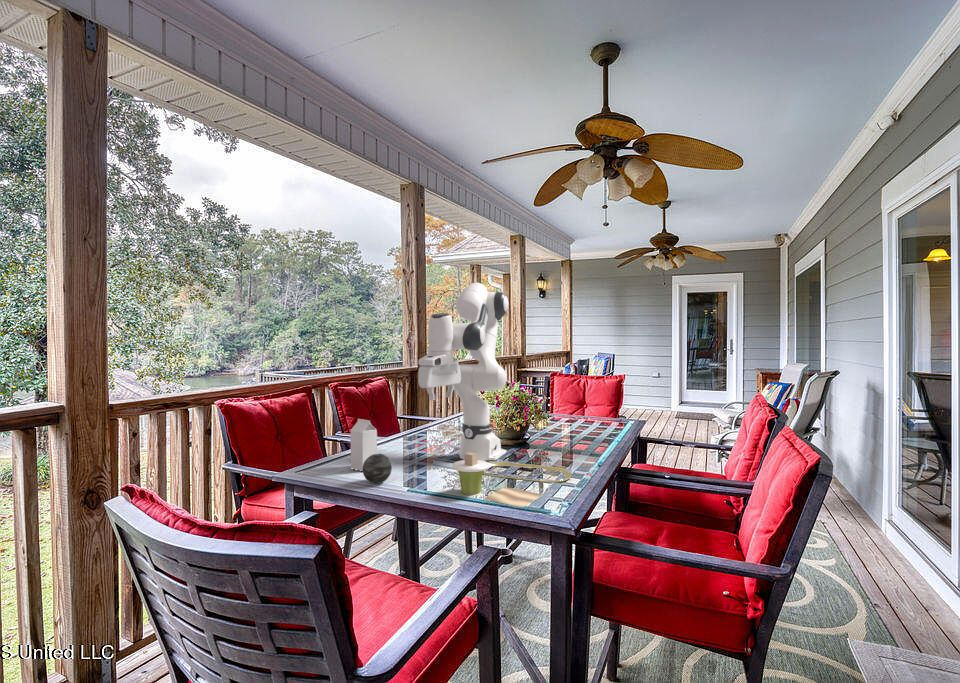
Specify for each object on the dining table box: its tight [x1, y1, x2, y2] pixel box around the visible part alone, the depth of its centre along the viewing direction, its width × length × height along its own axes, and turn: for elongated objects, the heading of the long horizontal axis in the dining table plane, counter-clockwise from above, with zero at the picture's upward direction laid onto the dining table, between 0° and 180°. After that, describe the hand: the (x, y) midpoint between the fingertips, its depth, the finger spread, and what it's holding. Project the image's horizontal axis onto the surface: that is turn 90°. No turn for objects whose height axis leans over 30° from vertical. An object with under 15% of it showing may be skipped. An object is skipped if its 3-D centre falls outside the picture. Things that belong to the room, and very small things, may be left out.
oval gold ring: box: [483, 461, 572, 484], centre depth 180 cm, size 19×35×2 cm, turn 68°
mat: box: [482, 486, 544, 509], centre depth 153 cm, size 14×14×1 cm
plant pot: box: [457, 470, 485, 496], centre depth 158 cm, size 9×9×9 cm
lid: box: [452, 452, 490, 472], centre depth 158 cm, size 12×12×4 cm
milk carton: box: [350, 418, 378, 472], centre depth 187 cm, size 7×7×19 cm
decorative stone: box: [362, 453, 393, 484], centre depth 169 cm, size 10×10×10 cm
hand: (440, 398), depth 170 cm, fingers open, 8 cm apart
